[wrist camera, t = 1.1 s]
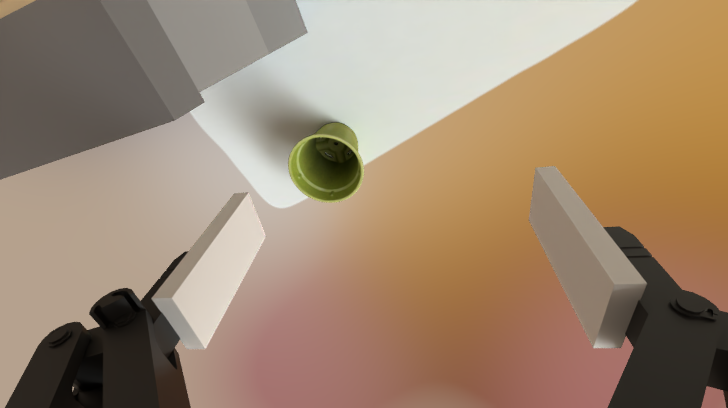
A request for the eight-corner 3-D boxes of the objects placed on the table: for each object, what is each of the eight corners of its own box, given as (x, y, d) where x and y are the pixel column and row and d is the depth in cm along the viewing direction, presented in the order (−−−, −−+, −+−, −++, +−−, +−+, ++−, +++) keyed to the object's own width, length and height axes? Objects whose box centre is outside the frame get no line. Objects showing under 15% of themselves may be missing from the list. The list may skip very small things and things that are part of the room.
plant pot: (382, 132, 48) (377, 159, 40) (350, 182, 53) (341, 214, 45) (322, 97, 46) (306, 119, 39) (295, 152, 51) (277, 181, 44)
